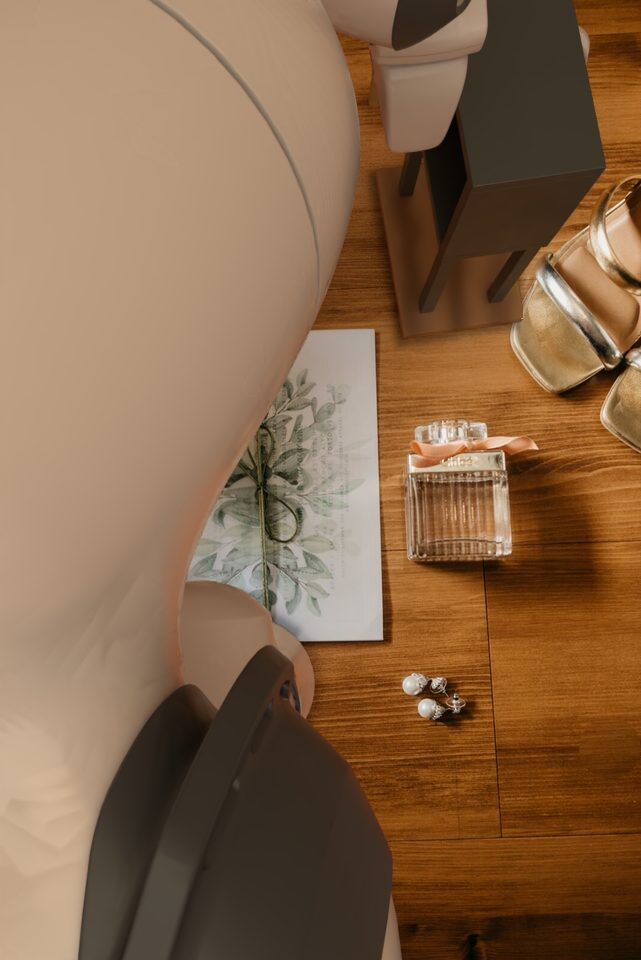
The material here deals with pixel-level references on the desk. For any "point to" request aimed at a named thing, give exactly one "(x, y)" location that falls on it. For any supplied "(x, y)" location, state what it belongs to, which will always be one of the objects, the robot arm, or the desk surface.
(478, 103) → the cabinet
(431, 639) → the desk surface
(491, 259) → the base board
